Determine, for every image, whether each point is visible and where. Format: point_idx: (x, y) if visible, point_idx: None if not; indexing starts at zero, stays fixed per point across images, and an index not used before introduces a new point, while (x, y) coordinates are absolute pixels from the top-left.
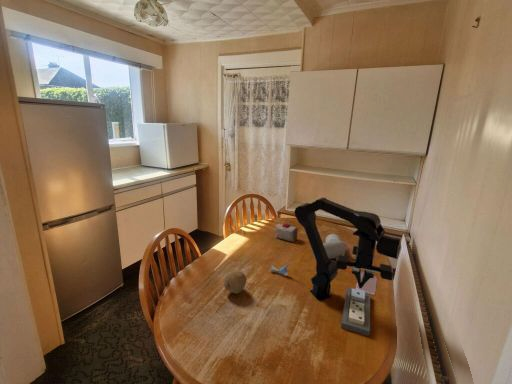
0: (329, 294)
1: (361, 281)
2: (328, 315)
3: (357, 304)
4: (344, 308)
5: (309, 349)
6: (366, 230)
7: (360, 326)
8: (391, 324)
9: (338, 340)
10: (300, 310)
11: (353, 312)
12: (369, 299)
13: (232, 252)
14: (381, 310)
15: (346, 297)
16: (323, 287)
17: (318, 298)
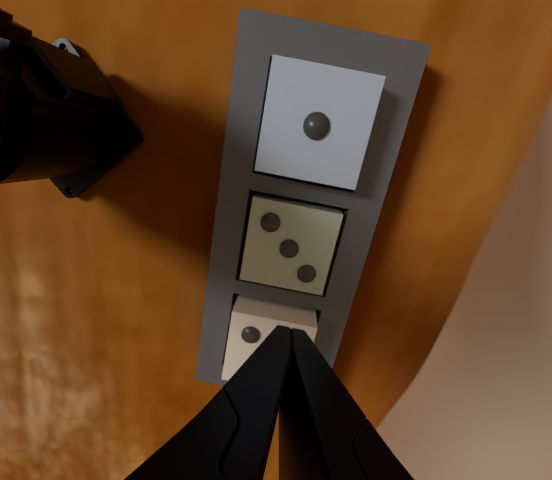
0: (124, 121)
1: (293, 386)
2: (144, 298)
3: (294, 231)
4: (211, 277)
5: (101, 460)
6: None
7: None
8: (459, 294)
9: (193, 417)
10: (10, 293)
11: (250, 343)
12: (398, 141)
13: None
14: (450, 190)
15: (229, 163)
16: (13, 181)
17: (65, 187)
